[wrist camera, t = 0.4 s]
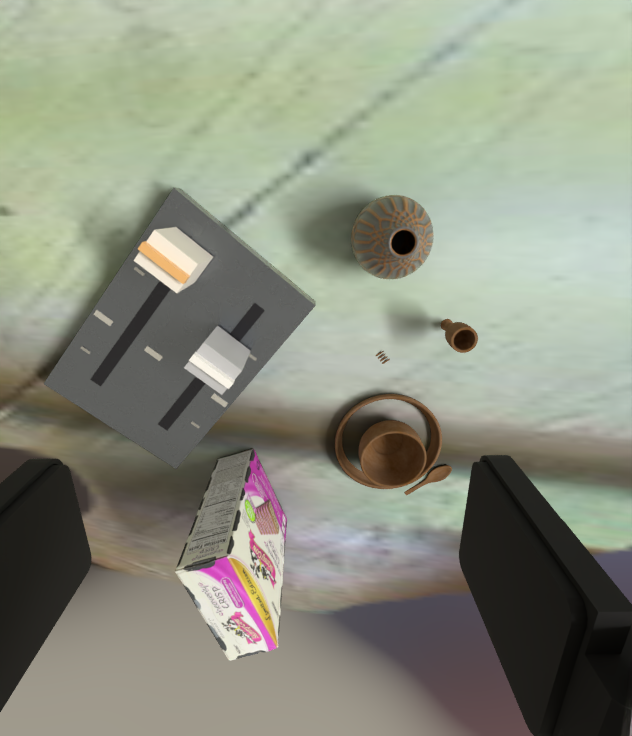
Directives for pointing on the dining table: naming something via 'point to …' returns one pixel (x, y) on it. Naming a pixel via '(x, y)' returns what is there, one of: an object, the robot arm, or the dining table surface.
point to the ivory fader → (173, 258)
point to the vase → (392, 237)
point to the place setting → (401, 436)
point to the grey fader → (218, 360)
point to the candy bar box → (237, 557)
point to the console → (176, 336)
